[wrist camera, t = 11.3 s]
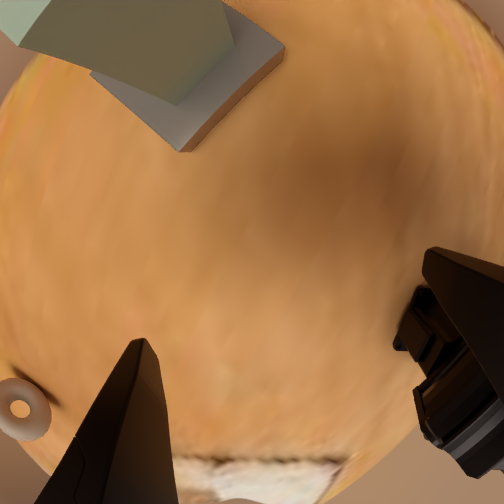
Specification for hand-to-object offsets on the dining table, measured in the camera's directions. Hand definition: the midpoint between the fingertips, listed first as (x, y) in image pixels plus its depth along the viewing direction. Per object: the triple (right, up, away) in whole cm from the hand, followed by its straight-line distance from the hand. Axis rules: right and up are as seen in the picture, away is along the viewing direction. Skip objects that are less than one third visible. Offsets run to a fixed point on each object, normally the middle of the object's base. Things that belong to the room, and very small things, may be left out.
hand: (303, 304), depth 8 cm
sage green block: (-6, +13, +6) cm, 16 cm away
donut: (-33, -18, +22) cm, 43 cm away
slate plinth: (-6, +14, +9) cm, 18 cm away
